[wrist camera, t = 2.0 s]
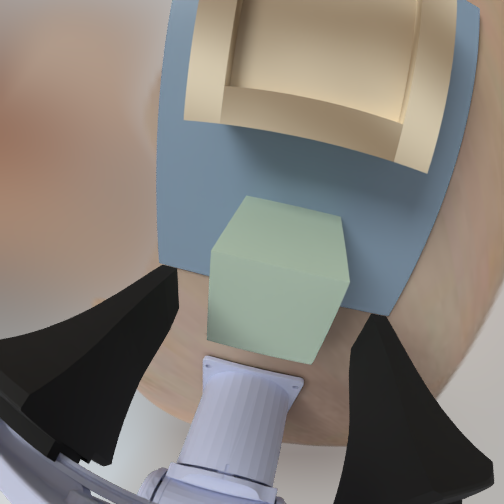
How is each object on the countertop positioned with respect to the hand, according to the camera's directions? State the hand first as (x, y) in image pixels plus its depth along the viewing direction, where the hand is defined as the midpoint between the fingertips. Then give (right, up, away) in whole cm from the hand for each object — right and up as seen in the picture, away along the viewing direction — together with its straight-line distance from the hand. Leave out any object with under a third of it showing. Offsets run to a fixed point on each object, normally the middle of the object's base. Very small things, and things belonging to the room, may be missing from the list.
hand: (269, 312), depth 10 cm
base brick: (+2, +11, -1) cm, 11 cm away
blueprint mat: (+2, +8, +1) cm, 8 cm away
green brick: (+1, +2, +4) cm, 5 cm away
